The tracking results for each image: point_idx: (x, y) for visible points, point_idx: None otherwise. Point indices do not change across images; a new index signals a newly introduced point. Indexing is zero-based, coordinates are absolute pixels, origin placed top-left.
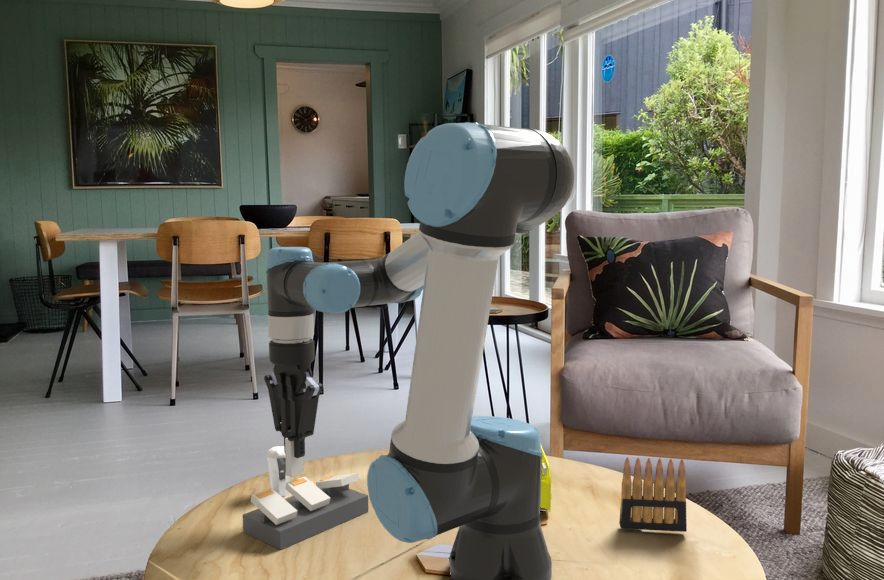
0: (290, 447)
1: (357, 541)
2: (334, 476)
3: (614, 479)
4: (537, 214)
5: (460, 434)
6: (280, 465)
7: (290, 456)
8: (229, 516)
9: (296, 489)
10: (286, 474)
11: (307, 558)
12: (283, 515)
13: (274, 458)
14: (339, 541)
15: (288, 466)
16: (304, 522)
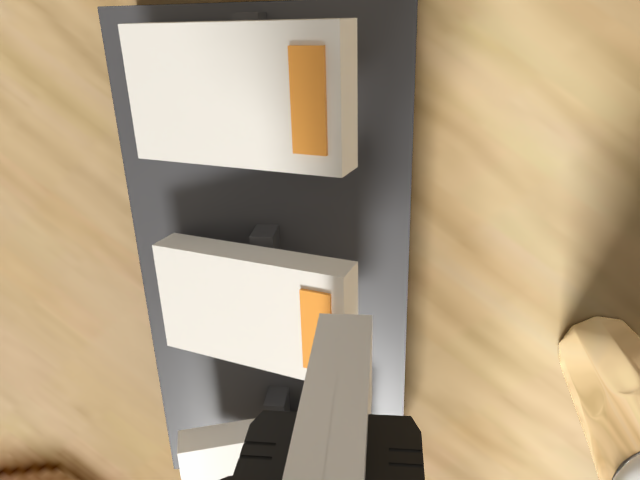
0: (292, 446)
1: (20, 249)
2: None
3: None
4: None
5: None
6: (614, 429)
7: (309, 396)
8: (620, 59)
9: (272, 276)
10: (366, 317)
11: (5, 36)
12: (131, 71)
13: None
14: (58, 210)
15: (342, 348)
16: (124, 154)
